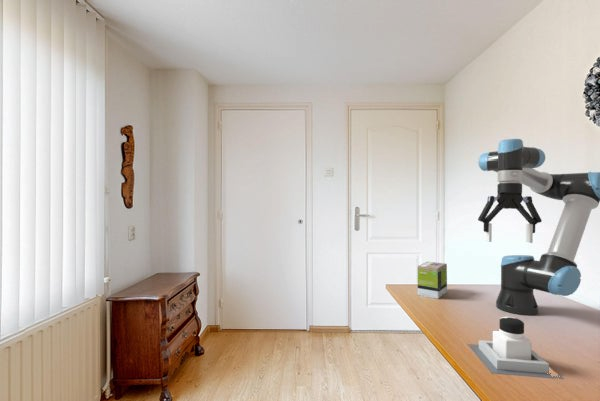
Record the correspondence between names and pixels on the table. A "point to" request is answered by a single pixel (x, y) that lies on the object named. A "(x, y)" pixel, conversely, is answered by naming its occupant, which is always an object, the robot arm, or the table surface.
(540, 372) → the collar plate
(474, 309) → the table surface
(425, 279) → the tea box
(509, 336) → the medicine bottle
